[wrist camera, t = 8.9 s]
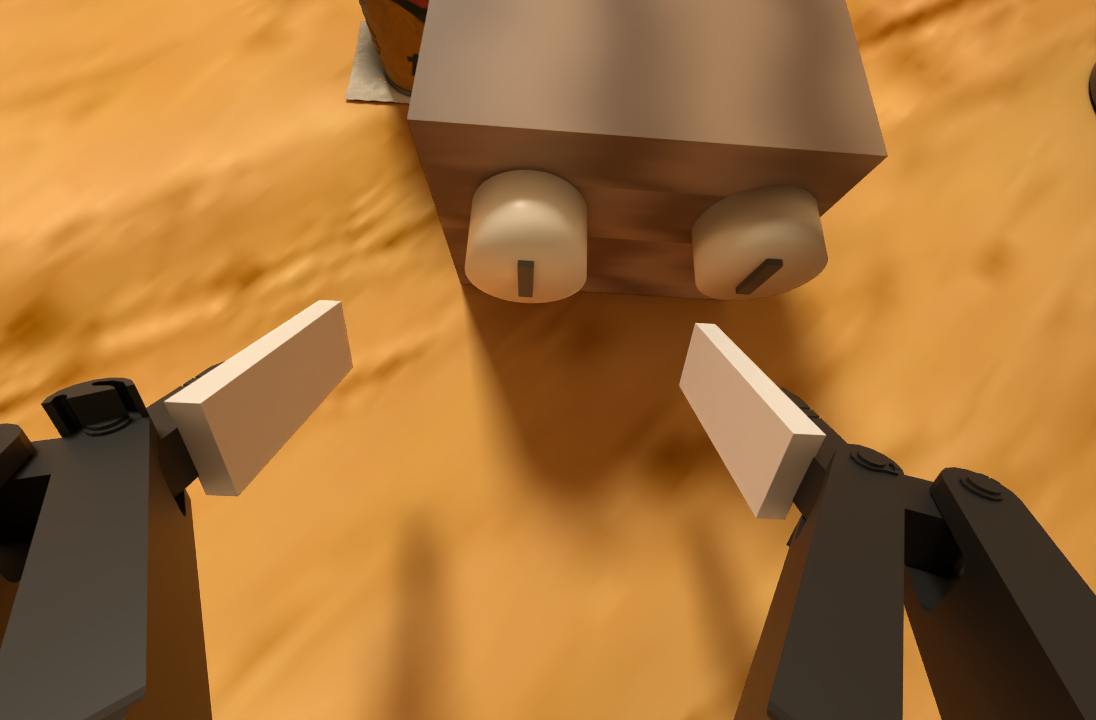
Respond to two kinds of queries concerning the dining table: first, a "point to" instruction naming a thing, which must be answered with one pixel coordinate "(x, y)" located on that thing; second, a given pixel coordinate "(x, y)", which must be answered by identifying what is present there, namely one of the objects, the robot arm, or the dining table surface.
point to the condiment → (387, 50)
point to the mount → (654, 130)
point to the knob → (527, 237)
